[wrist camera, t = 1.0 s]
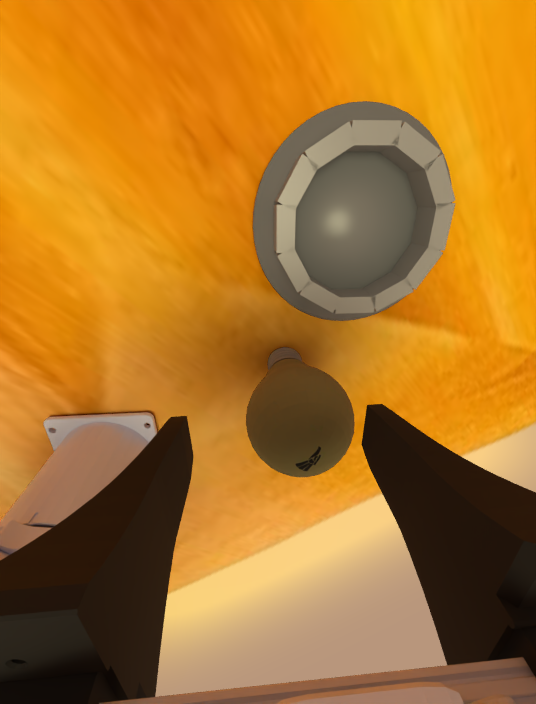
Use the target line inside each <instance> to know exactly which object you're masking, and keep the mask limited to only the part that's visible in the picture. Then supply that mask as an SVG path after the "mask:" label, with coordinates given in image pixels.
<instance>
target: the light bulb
mask: <svg viewBox="0 0 536 704" xmlns="http://www.w3.org/2000/svg"><path fill="white" fill-rule="evenodd" d="M268 370H269V371H268V373H267V375H266V377H265V378H264V379H263V380H262V381H261V382H260V383H259V384H258V386H257V387H256V389H255V390H254V392H253V394H252V396H251V399H250V401H249V404H248V407H247V414H246V426H247V432H248V436H249V439H250V441H251V444H252V446H253V448H254V450H255V451H256V453H257V454H258V456H259V457H260V458H261V459H262V460H263V461H264V462H265V463H266V464H268V465H269V466H270V467H271V468H273V469H274V470H276V471H278V472H280V473H283V474H286V475H289V476H294V477H310V476H315V475H318V474H321V473H323V472H325V471H327V470H329V469H330V468H332V467H333V466H334V465H336V464H337V463H338V462H339V461H340V460H341V458H342V457H343V456H344V455H345V454H346V452H347V450H348V448H349V446H350V443H351V440H352V437H353V434H354V413H353V409H352V405H351V402H350V400H349V398H348V396H347V394H346V392H345V391H344V389H343V388H342V387H341V386H340V384H339V383H338V382H337V381H336V380H335V379H333V378H332V377H331V376H330V375H328V374H327V373H325V372H323V371H321V370H319V369H317V368H314V367H310V366H308V365H306V364H305V363H304V362H302V359H301V357H300V355H299V353H298V352H297V351H295V350H294V349H292V348H288V347H282V348H279V349H277V350H275V351H274V352H273V353H272V354H271V355H270V357H269V359H268Z"/></svg>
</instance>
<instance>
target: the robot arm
mask: <svg viewBox="0 0 536 704" xmlns="http://www.w3.org/2000/svg"><path fill="white" fill-rule="evenodd" d="M146 423H149V424H150V425H147V424H146ZM43 424H44V427H45V430H46V432H47V435H48V437H49V440H50V442H51V445H52V447H53V450H54V452H53V454H52V455H51V456H50V458H49V459H48V460H47V462H46V463H45V464H44V465H43V467H42V468H41V469H40V471H39V472H38V473H37V475H36V476H35V477H34V478H33V480H32V481H31V482H30V484H29V485H28V486H27V487H26V489H25V490H24V491H23V493H22V494H21V495H20V497H19V498H18V499H17V500H16V502H15V503H14V504H13V506H12V507H11V508H10V510H9V511H8V512H7V513H6V515H5V516H4V517H3V519H2V520H1V521H0V704H536V493H535V492H533V491H531V490H528V489H526V488H523V487H521V486H519V485H517V484H514V483H512V482H510V481H508V480H506V479H504V478H501V477H499V476H497V475H495V474H493V473H491V472H489V471H487V470H484V469H483V468H481V467H479V466H477V465H475V464H473V463H472V462H470V461H468V460H466V459H464V458H462V457H461V456H459V455H457V454H455V453H454V452H452V451H450V450H449V449H447V448H446V447H444V446H442V445H441V444H439V443H438V442H436V441H434V440H433V439H431V438H430V437H428V436H427V435H425V434H424V433H422V432H421V431H420V430H418V429H417V428H415V427H414V426H412V425H411V424H410V423H408V422H407V421H405V420H404V419H403V418H401V417H400V416H399V415H397V414H396V413H394V412H393V411H392V410H390V409H389V408H387V407H386V406H384V405H383V404H375V405H367V410H366V417H365V424H364V431H363V439H362V447H363V450H364V453H365V456H366V459H367V461H368V464H369V467H370V469H371V471H372V473H373V475H374V477H375V479H376V481H377V483H378V486H379V488H380V489H381V491H382V493H383V495H384V497H385V499H386V501H387V503H388V505H389V507H390V509H391V511H392V513H393V515H394V517H395V519H396V521H397V524H398V526H399V528H400V530H401V532H402V535H403V537H404V540H405V543H406V545H407V548H408V551H409V553H410V555H411V558H412V561H413V564H414V566H415V569H416V572H417V575H418V577H419V580H420V583H421V586H422V588H423V591H424V594H425V597H426V600H427V603H428V606H429V609H430V612H431V615H432V618H433V621H434V624H435V627H436V630H437V633H438V637H439V640H440V643H441V646H442V649H443V652H444V656H445V659H446V662H447V666H437V667H428V668H419V669H410V670H400V671H391V672H382V673H372V674H364V675H355V676H345V677H336V678H327V679H318V680H308V681H298V682H289V683H280V684H271V685H262V686H252V687H244V688H234V689H225V690H216V691H206V692H197V693H188V694H179V695H169V696H159V697H155V693H156V684H157V675H158V665H159V656H160V647H161V639H162V631H163V622H164V614H165V606H166V600H167V593H168V585H169V578H170V572H171V565H172V559H173V552H174V547H175V542H176V537H177V533H178V529H179V525H180V521H181V517H182V513H183V509H184V505H185V501H186V497H187V493H188V489H189V485H190V480H191V472H192V464H193V450H192V444H191V439H190V433H189V427H188V421H187V416H180V417H171V418H170V419H169V420H168V421H167V422H166V423H165V424H164V426H163V427H162V428H161V429H160V430H159V432H158V433H157V429H156V424H155V419H154V416H153V415H152V414H151V413H148V412H142V413H121V414H100V415H79V416H57V417H48V418H47V419H46V420H45V421H44V423H43ZM53 428H54V429H56V430H54V429H53Z"/></svg>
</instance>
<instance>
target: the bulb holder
mask: <svg viewBox="0 0 536 704" xmlns="http://www.w3.org/2000/svg"><path fill="white" fill-rule="evenodd" d="M454 200H455V197H454V194H453V190H452V186H451V179H450V174H449V169H448V166H447V163H446V160H445V157H444V154H443V153H442V151H441V149H440V147H439V145H438V143H437V141H436V140H435V139H434V137H433V136H432V134H431V133H430V132H429V130H428V129H427V128H426V127H424V126H423V125H422V124H421V123H420V122H419V121H418V120H417V119H415V118H414V117H413V116H411V115H410V114H408V113H407V112H405V111H403V110H400V109H398V108H396V107H394V106H390V105H387V104H383V103H377V102H367V101H365V102H351V103H347V104H342V105H338V106H335V107H332V108H330V109H327V110H325V111H323V112H320V113H319V114H317V115H315V116H314V117H312V118H310V119H309V120H307V121H306V122H305V123H303V124H302V125H301V126H300V127H298V128H297V129H296V130H295V131H294V132H293V133H292V134H291V135H290V136H289V137H288V138H287V139H286V140H285V141H284V142H283V144H282V145H281V146H280V148H279V149H278V150H277V152H276V153H275V154H274V156H273V158H272V159H271V161H270V163H269V165H268V166H267V168H266V170H265V173H264V175H263V177H262V180H261V182H260V185H259V188H258V192H257V196H256V200H255V206H254V213H253V233H254V242H255V247H256V251H257V255H258V258H259V261H260V264H261V267H262V269H263V271H264V273H265V275H266V277H267V279H268V280H269V282H270V283H271V285H272V286H273V288H274V289H275V290H276V291H277V292H278V293H279V294H280V296H281V297H282V298H284V299H285V300H286V301H287V302H288V303H289V304H291V305H292V306H294V307H295V308H297V309H299V310H300V311H302V312H304V313H307V314H309V315H311V316H314V317H318V318H321V319H327V320H338V321H345V320H355V319H360V318H364V317H368V316H371V315H374V314H376V313H379V312H381V311H383V310H385V309H387V308H389V307H391V306H392V305H394V304H395V303H397V302H399V301H400V300H401V299H402V298H404V297H405V296H406V295H408V294H410V293H412V292H413V289H415V290H416V288H417V287H418V286H419V284H420V283H421V282H422V281H423V279H424V278H425V277H426V275H427V274H428V273H429V271H430V270H431V269H432V267H433V266H434V265H435V263H436V262H437V261H438V259H439V258H440V257H441V255H442V254H443V253H442V252H441V251H440V250H445V246H446V242H447V237H448V233H449V229H450V224H451V220H452V215H453V211H454V207H455V203H452V202H453V201H454Z"/></svg>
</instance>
